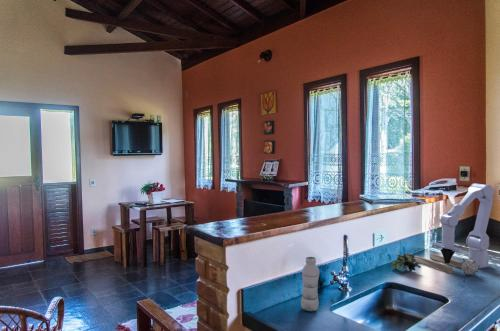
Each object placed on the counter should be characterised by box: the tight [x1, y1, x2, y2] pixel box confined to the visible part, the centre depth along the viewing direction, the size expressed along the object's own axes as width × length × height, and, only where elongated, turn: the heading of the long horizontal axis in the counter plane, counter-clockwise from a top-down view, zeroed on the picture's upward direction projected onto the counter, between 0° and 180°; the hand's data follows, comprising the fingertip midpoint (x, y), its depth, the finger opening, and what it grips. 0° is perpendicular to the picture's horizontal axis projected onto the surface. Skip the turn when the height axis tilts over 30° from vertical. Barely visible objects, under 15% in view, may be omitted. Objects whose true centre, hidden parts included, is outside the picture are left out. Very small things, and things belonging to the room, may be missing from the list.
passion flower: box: [390, 252, 422, 274], centre depth 186 cm, size 11×11×12 cm
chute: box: [413, 252, 463, 274], centre depth 197 cm, size 14×22×3 cm, turn 25°
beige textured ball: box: [458, 258, 480, 277], centre depth 182 cm, size 9×8×10 cm
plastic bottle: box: [300, 256, 320, 312], centre depth 139 cm, size 6×7×20 cm
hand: (447, 263), depth 193 cm, fingers closed
